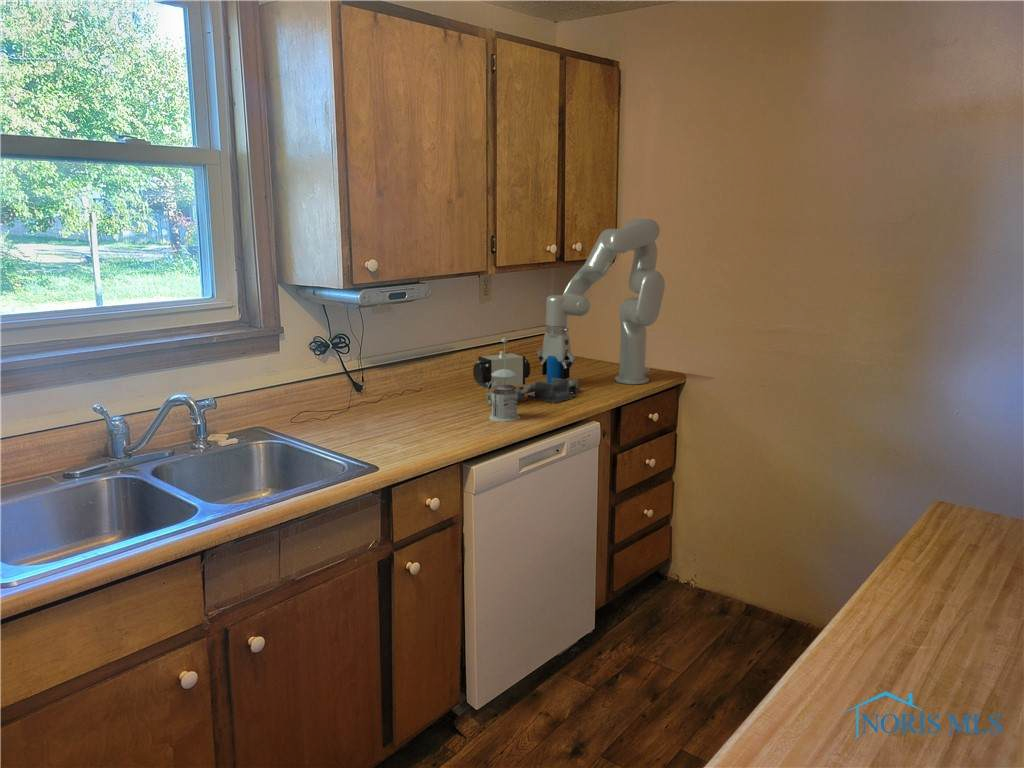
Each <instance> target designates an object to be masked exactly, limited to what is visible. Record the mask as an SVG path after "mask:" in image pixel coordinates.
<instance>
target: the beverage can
mask: <svg viewBox="0 0 1024 768" xmlns="http://www.w3.org/2000/svg"><path fill="white" fill-rule="evenodd" d="M563 368H564V366H563V365H562V363H561V362H558V360H557V358H556V357H555V356H552V355H549V356H548V357H547V375H546V383H551V377H556V378H561V379H563V378H562V375H563Z"/></svg>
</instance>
